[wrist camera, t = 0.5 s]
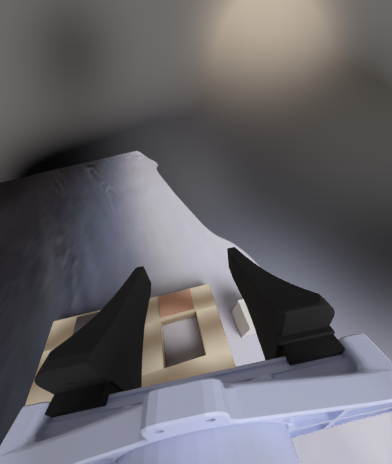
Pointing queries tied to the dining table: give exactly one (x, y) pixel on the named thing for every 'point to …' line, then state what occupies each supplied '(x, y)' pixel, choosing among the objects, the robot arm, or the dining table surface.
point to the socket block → (159, 338)
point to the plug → (243, 319)
